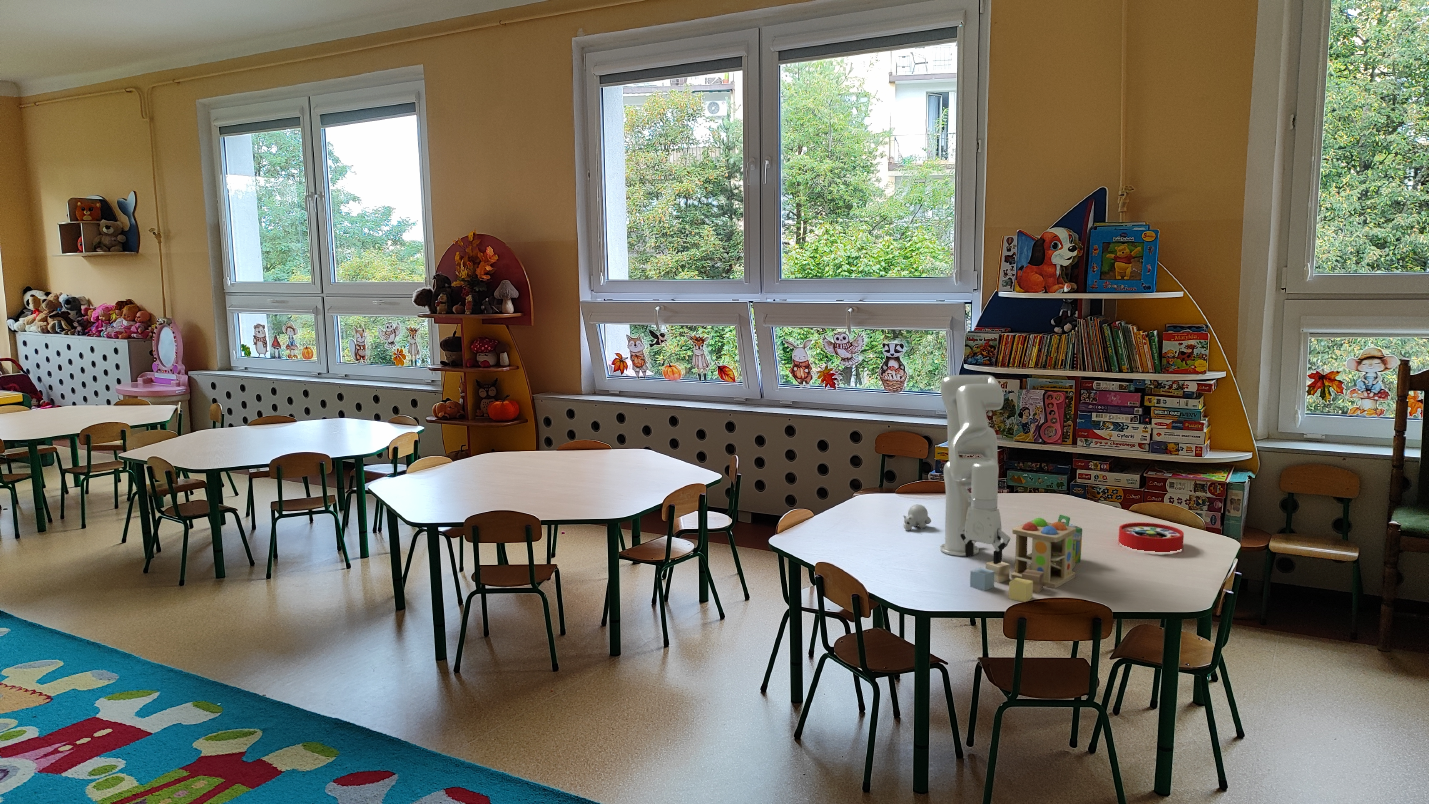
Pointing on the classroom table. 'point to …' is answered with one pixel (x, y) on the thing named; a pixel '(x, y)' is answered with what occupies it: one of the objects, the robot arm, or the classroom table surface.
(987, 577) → the slate-blue cube
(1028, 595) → the mustard cube
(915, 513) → the chubby cartoon animal
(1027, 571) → the walnut cube
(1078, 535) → the chalk box
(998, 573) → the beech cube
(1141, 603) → the classroom table surface
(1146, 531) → the toy clock
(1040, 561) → the pounding bench toy
